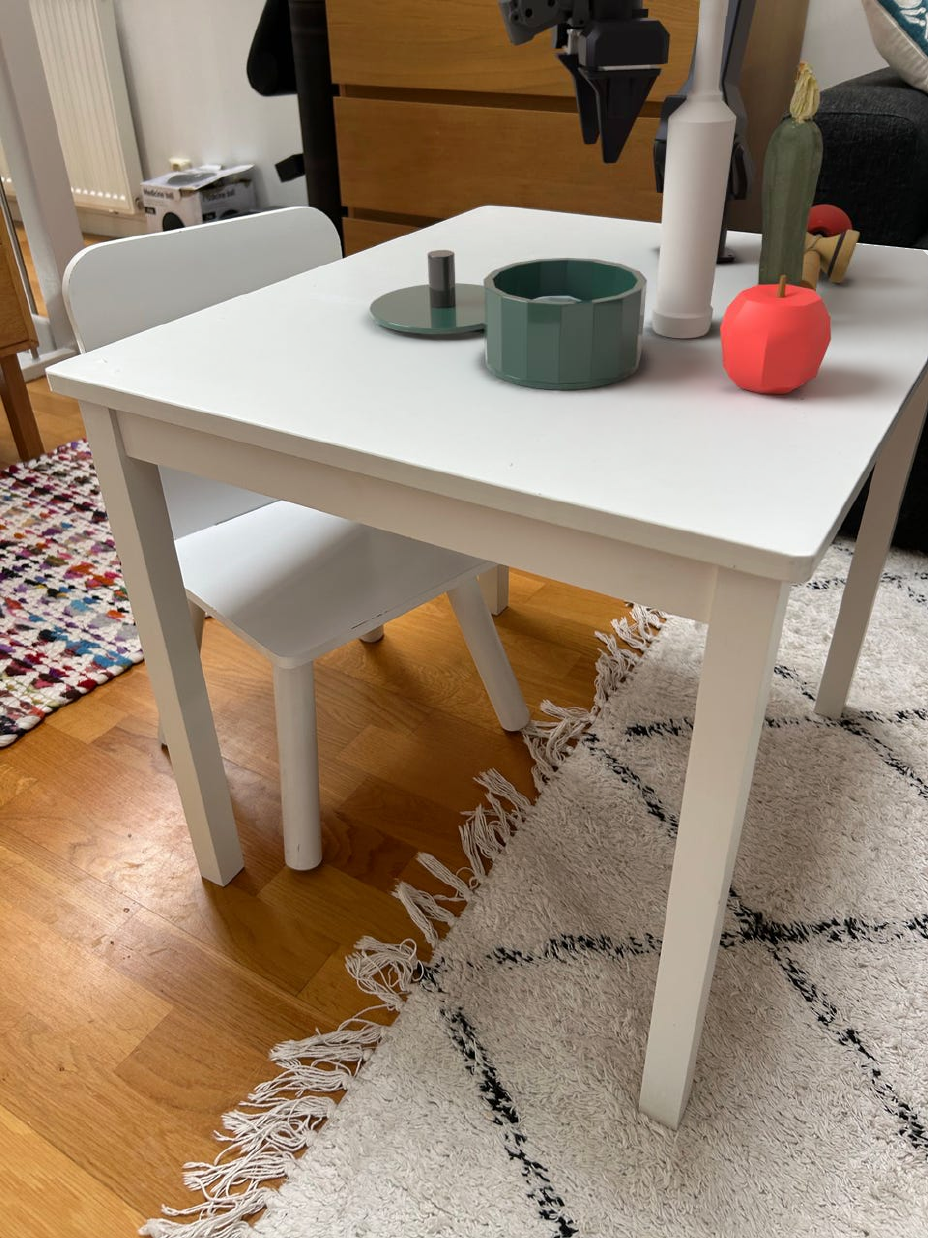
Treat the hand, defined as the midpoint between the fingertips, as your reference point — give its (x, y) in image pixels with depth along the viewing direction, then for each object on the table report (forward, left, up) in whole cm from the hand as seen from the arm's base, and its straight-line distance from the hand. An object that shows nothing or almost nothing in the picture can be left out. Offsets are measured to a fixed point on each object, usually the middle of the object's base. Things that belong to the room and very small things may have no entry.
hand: (599, 152), depth 82 cm
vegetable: (+8, +14, -13) cm, 21 cm away
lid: (+1, -14, -12) cm, 19 cm away
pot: (+14, -5, -13) cm, 20 cm away
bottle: (+8, +6, -13) cm, 17 cm away
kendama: (-3, +22, -13) cm, 26 cm away
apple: (+21, +10, -13) cm, 27 cm away
